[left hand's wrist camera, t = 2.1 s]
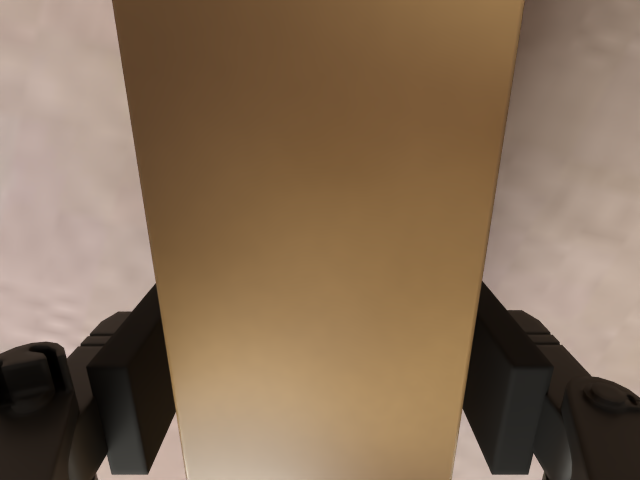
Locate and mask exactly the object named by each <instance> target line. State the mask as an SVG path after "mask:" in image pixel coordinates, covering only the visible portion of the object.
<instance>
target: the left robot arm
mask: <svg viewBox="0 0 640 480" xmlns="http://www.w3.org/2000/svg"><path fill="white" fill-rule="evenodd" d="M463 410H464V413H465V415H466V417H467V419H468V422H469V424H470V426H471V428H472V431H473V433H474V435H475V437H476V440H477V442H478V444H479V446H480V448H481V451H482V453H483V455H484V457H485V460H486V462H487V464H488V466H489V469H490V471H491V473H492V475H528V473H529V469H530V465H531V461H532V457H533V453H534V454H535V456H536V458H537V460H538V461H539V463H540V465H541V466H542V468H543V470H544V474H543V478H542V480H640V397H638V396H637V395H636V394H634V393H633V392H632V391H630V390H629V389H627V388H625V387H623V386H621V385H619V384H617V383H615V382H612V381H609V380H605V379H602V378H599V377H592V376H591V375H590V374H589V373H588V372H587V371H586V370H585V369H584V368H583V367H582V366H581V365H580V363H579V362H578V361H577V360H576V359H575V358H574V357H573V356H572V355H571V354H570V353H569V352H568V351H567V350H566V349H565V348H564V346H563V345H560V342H559V341H558V340H557V339H556V338H555V337H554V336H553V335H550V332H549V331H548V329H547V328H546V327H545V326H544V325H543V324H542V323H541V322H540V321H539V320H537V319H536V318H534V317H532V316H531V315H529V314H527V313H526V312H524V311H522V310H506V309H505V308H504V306H503V305H502V304H501V303H500V302H499V300H498V299H497V298H496V297H495V296H494V294H493V293H492V292H491V291H490V290H489V288H488V287H487V286H486V285H485V284H484V283H483V281H482V283H481V290H480V297H479V303H478V310H477V316H476V323H475V329H474V336H473V342H472V349H471V355H470V362H469V368H468V375H467V381H466V388H465V395H464V401H463ZM175 413H176V408H175V402H174V395H173V389H172V383H171V376H170V370H169V363H168V357H167V350H166V344H165V338H164V331H163V325H162V318H161V312H160V305H159V299H158V292H157V286H156V284H155V285H154V286H153V287H152V288H151V290H150V291H149V292H148V293H147V294H146V296H145V297H144V298H143V299H142V300H141V302H140V303H139V304H138V305H137V306H136V308H135V309H134V310H133V311H132V312H117V313H115V314H114V315H112V316H110V317H109V318H107V319H105V320H104V321H102V322H101V323H100V324H99V325H98V326H97V327H96V328H95V329H94V330H93V331H92V332H91V333H90V336H88V337H87V338H86V339H85V340H84V341H83V342H82V343H81V346H78V347H77V348H76V349H75V350H74V352H73V353H72V354H71V355H70V356H69V357H68V358H66V354H65V350H64V348H63V347H62V346H60V345H59V344H58V343H52V342H38V343H30V344H26V345H22V346H19V347H15V348H13V349H10V350H8V351H6V352H3V353H1V354H0V480H98V478H97V474H96V472H97V470H98V469H99V467H100V465H101V463H102V462H103V460H104V458H105V457H106V455H107V457H108V461H109V465H110V469H111V473H112V475H148V473H149V471H150V469H151V466H152V464H153V462H154V460H155V457H156V455H157V453H158V451H159V448H160V446H161V444H162V442H163V439H164V437H165V435H166V433H167V430H168V428H169V426H170V424H171V421H172V419H173V417H174V415H175Z"/></svg>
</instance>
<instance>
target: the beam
mask: <svg viewBox="0 0 640 480" xmlns="http://www.w3.org/2000/svg"><path fill="white" fill-rule="evenodd" d="M112 3H113V9H114V16H115V22H116V29H117V35H118V41H119V48H120V54H121V61H122V67H123V74H124V80H125V86H126V93H127V99H128V106H129V112H130V119H131V125H132V132H133V138H134V144H135V151H136V157H137V164H138V170H139V177H140V183H141V189H142V196H143V202H144V209H145V215H146V222H147V228H148V235H149V241H150V247H151V254H152V260H153V267H154V273H155V280H156V286H157V292H158V299H159V305H160V312H161V318H162V325H163V331H164V338H165V344H166V350H167V357H168V363H169V370H170V376H171V383H172V389H173V395H174V402H175V408H176V415H177V421H178V428H179V434H180V441H181V447H182V453H183V460H184V466H185V473H186V479H187V480H451V479H452V473H453V466H454V460H455V453H456V447H457V440H458V434H459V427H460V421H461V414H462V408H463V401H464V395H465V388H466V381H467V375H468V368H469V362H470V355H471V349H472V342H473V336H474V329H475V323H476V316H477V310H478V303H479V297H480V290H481V283H482V277H483V270H484V264H485V257H486V251H487V244H488V238H489V231H490V225H491V218H492V212H493V205H494V199H495V192H496V185H497V179H498V172H499V166H500V159H501V153H502V146H503V140H504V133H505V127H506V120H507V114H508V107H509V101H510V94H511V87H512V81H513V74H514V68H515V61H516V55H517V48H518V42H519V35H520V29H521V22H522V16H523V9H524V3H525V0H112Z"/></svg>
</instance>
